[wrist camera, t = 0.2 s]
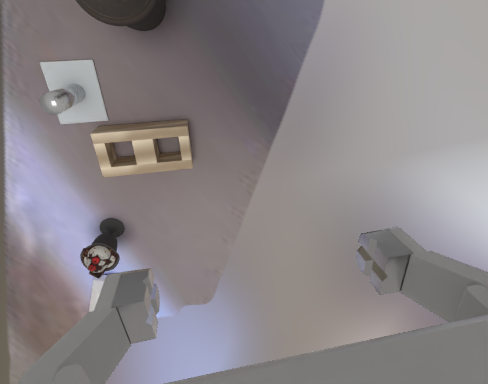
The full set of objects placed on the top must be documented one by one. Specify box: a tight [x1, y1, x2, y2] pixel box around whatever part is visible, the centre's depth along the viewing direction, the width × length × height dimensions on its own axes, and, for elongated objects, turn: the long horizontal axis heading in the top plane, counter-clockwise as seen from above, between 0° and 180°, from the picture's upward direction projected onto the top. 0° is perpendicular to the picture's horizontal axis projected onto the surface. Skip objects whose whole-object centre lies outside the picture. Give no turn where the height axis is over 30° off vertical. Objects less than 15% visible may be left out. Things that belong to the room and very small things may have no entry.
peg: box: [40, 84, 86, 115], centre depth 45 cm, size 3×3×10 cm
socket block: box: [91, 119, 193, 177], centre depth 53 cm, size 8×16×5 cm, turn 92°
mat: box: [40, 60, 109, 124], centre depth 49 cm, size 10×8×1 cm
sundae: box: [81, 218, 124, 279], centre depth 56 cm, size 7×7×15 cm
